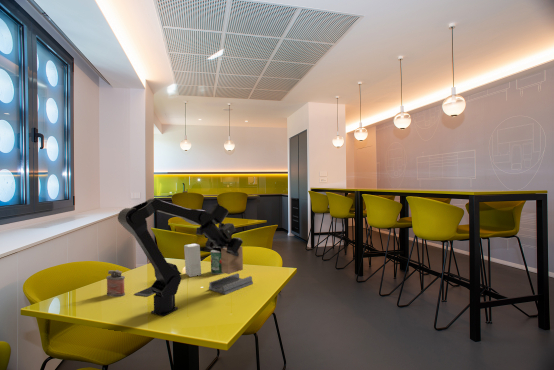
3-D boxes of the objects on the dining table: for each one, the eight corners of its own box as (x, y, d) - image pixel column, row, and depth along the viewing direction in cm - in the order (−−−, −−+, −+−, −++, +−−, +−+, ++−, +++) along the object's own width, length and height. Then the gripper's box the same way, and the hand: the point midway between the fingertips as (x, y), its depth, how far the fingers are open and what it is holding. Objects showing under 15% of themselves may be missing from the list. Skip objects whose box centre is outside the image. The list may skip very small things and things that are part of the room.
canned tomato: (211, 270, 149) (210, 249, 149) (226, 269, 150) (226, 248, 151) (210, 274, 141) (210, 252, 141) (226, 273, 143) (226, 251, 143)
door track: (225, 294, 114) (224, 287, 114) (208, 289, 120) (208, 282, 120) (252, 283, 126) (252, 276, 126) (236, 279, 133) (236, 273, 133)
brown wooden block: (228, 274, 118) (228, 249, 118) (221, 272, 121) (221, 248, 121) (242, 269, 124) (242, 246, 124) (236, 268, 127) (235, 245, 127)
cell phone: (133, 295, 116) (133, 294, 116) (158, 284, 129) (158, 283, 129) (147, 297, 114) (147, 295, 114) (171, 286, 127) (171, 284, 127)
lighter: (127, 294, 117) (126, 269, 118) (120, 297, 114) (120, 272, 114) (111, 292, 120) (110, 268, 120) (104, 295, 116) (104, 271, 116)
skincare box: (201, 275, 141) (200, 245, 141) (189, 277, 138) (188, 246, 138) (196, 271, 148) (195, 242, 148) (184, 273, 145) (183, 244, 145)
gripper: (238, 218, 114) (258, 242, 122) (210, 216, 126) (230, 238, 134) (223, 241, 108) (245, 264, 116) (195, 236, 120) (217, 258, 128)
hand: (234, 254), depth 124 cm, fingers closed on brown wooden block, 4 cm apart
